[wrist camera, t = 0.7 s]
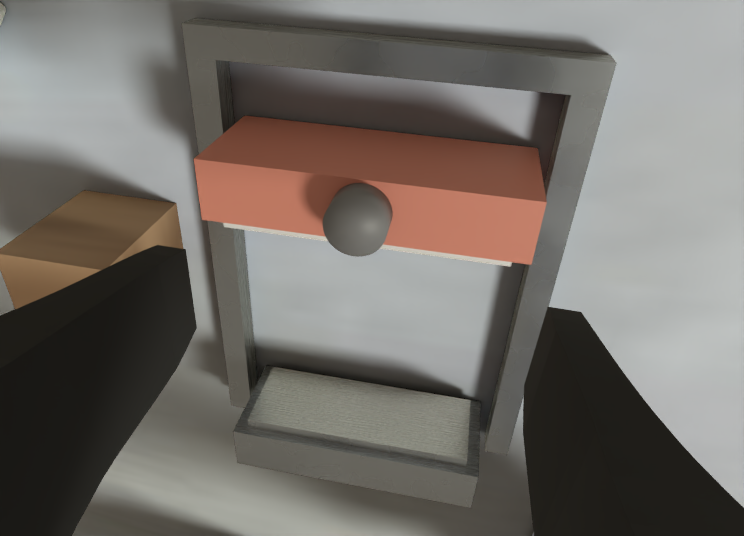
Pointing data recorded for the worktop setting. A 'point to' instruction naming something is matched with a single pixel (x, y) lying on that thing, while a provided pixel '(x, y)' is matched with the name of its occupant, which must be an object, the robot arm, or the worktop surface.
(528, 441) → the robot arm
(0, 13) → the small box
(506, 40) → the worktop surface
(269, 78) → the worktop surface
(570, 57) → the vise body
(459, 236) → the free jaw
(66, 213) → the walnut block
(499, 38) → the worktop surface
